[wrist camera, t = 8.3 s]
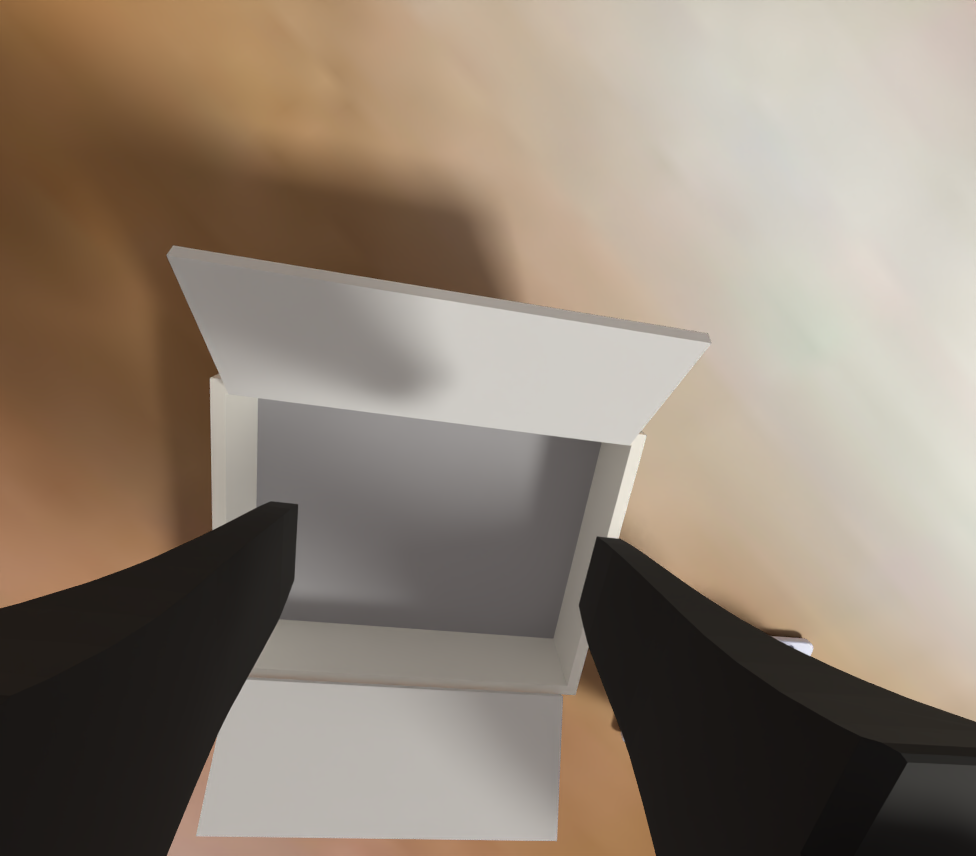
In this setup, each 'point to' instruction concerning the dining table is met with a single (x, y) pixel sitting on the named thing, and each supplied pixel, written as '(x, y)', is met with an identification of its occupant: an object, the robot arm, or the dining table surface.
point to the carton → (422, 542)
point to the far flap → (385, 763)
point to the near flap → (429, 350)
